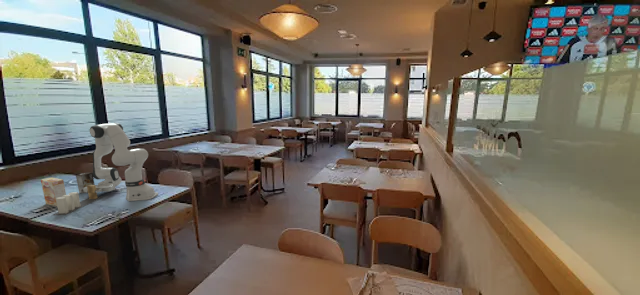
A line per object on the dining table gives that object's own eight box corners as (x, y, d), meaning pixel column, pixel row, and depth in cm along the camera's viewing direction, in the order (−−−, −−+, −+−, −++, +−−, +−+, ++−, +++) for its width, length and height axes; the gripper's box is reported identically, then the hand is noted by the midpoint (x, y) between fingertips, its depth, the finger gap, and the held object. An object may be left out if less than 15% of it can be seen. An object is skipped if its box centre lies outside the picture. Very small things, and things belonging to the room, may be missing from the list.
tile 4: (68, 212, 187) (65, 197, 185) (66, 213, 185) (63, 198, 183) (61, 212, 187) (58, 197, 185) (58, 213, 185) (55, 198, 183)
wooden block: (97, 198, 212) (95, 185, 210) (95, 199, 210) (93, 185, 208) (91, 198, 212) (88, 185, 210) (89, 199, 210) (86, 185, 208)
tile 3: (74, 209, 192) (72, 194, 190) (72, 210, 190) (69, 195, 188) (67, 209, 192) (64, 194, 190) (65, 210, 190) (62, 195, 188)
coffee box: (89, 189, 233) (86, 172, 230) (95, 190, 232) (92, 172, 229) (78, 193, 225) (75, 175, 221) (84, 193, 223) (81, 175, 220)
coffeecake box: (45, 204, 202) (40, 179, 198) (57, 200, 209) (52, 177, 205) (56, 207, 197) (51, 182, 193) (68, 203, 203) (63, 179, 200)
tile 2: (80, 206, 197) (78, 192, 195) (78, 207, 195) (75, 193, 193) (73, 206, 197) (71, 192, 194) (71, 207, 195) (68, 193, 192)
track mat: (103, 197, 216) (103, 196, 215) (66, 215, 182) (66, 215, 182) (91, 197, 215) (91, 196, 215) (51, 216, 182) (51, 215, 182)
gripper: (91, 182, 222) (76, 188, 208) (116, 182, 223) (103, 187, 209) (92, 189, 223) (78, 195, 210) (117, 189, 224) (105, 195, 210)
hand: (91, 191), depth 209 cm, fingers closed on wooden block, 5 cm apart
